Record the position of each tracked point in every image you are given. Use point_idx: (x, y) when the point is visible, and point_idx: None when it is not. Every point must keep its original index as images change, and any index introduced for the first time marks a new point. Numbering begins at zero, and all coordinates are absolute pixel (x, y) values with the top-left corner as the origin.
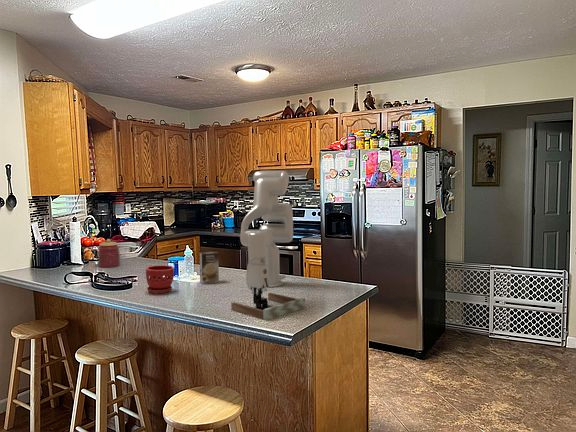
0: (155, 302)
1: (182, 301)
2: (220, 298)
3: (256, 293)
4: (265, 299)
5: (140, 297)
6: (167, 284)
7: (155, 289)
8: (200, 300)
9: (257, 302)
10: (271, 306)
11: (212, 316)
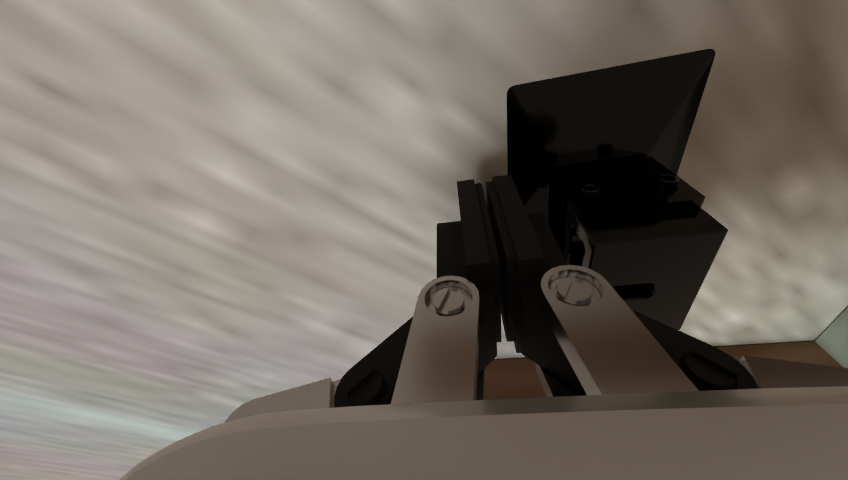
0: (110, 475)
1: (109, 434)
2: (41, 302)
3: (540, 365)
4: (706, 258)
5: (2, 477)
6: None
7: None
8: (98, 390)
9: None
10: (669, 78)
11: None
